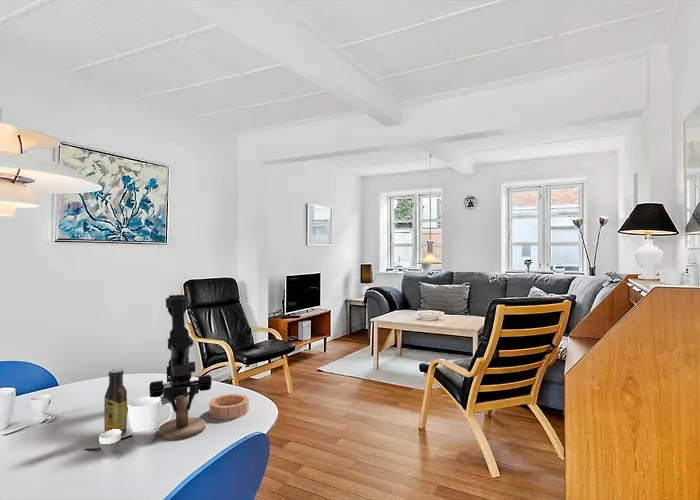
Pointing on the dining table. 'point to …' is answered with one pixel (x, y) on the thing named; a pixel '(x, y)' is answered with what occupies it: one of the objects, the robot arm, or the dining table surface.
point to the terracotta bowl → (229, 406)
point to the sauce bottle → (115, 402)
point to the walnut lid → (181, 423)
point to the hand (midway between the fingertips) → (182, 410)
